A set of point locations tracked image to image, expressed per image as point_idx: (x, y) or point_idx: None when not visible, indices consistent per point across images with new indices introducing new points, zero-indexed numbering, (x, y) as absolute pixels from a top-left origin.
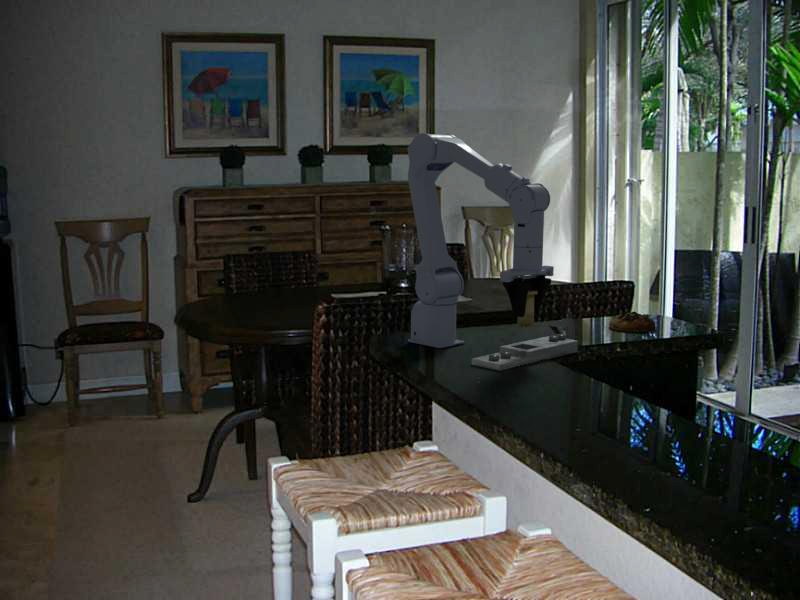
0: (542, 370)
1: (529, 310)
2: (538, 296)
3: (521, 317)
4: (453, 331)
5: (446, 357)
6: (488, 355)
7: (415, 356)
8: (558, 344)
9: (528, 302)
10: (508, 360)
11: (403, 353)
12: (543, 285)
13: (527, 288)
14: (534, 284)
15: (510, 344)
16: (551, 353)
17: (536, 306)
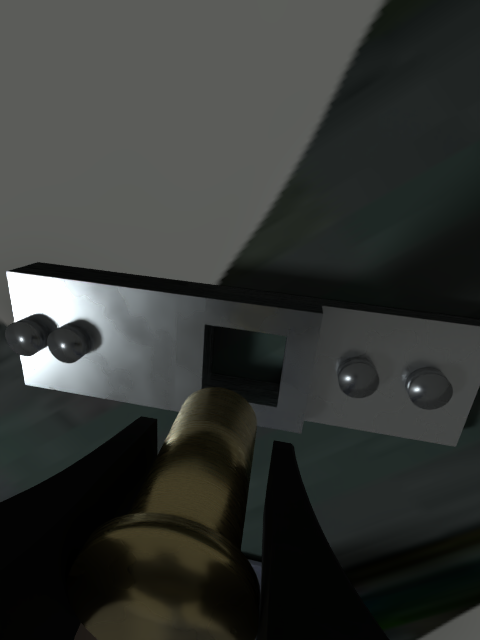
0: (382, 201)
1: (224, 450)
2: (96, 499)
3: (251, 454)
4: None
5: (391, 522)
6: (372, 426)
7: (432, 582)
8: (117, 292)
9: (222, 496)
10: (408, 339)
11: (415, 613)
12: (21, 558)
13: (305, 619)
14: (39, 628)
15: None
16: (177, 285)
17: (135, 454)
